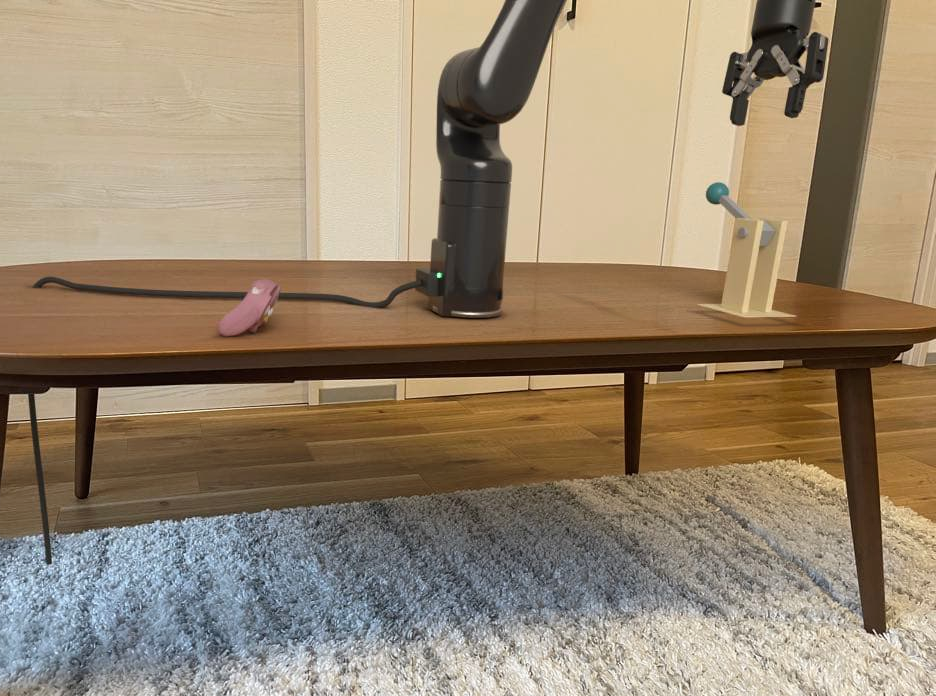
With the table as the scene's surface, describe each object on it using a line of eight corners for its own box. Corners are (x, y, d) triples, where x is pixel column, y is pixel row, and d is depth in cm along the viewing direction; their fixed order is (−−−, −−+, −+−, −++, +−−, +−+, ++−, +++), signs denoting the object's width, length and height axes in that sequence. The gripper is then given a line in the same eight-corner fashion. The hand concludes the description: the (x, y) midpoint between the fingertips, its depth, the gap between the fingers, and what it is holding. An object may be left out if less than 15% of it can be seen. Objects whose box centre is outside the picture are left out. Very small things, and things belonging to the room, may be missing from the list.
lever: (698, 197, 117) (707, 177, 115) (715, 198, 118) (725, 178, 116) (749, 248, 107) (760, 227, 105) (768, 248, 108) (780, 228, 106)
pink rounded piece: (250, 352, 86) (278, 297, 84) (213, 332, 85) (240, 276, 83) (266, 333, 95) (291, 283, 93) (232, 315, 94) (257, 265, 93)
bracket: (695, 312, 114) (710, 216, 110) (745, 311, 117) (762, 217, 113) (742, 325, 105) (760, 221, 101) (795, 324, 108) (815, 223, 104)
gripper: (724, 6, 112) (704, 121, 115) (818, -23, 100) (793, 107, 102) (757, 21, 116) (737, 133, 118) (851, -5, 104) (826, 120, 106)
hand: (763, 120), depth 110 cm, fingers open, 8 cm apart
